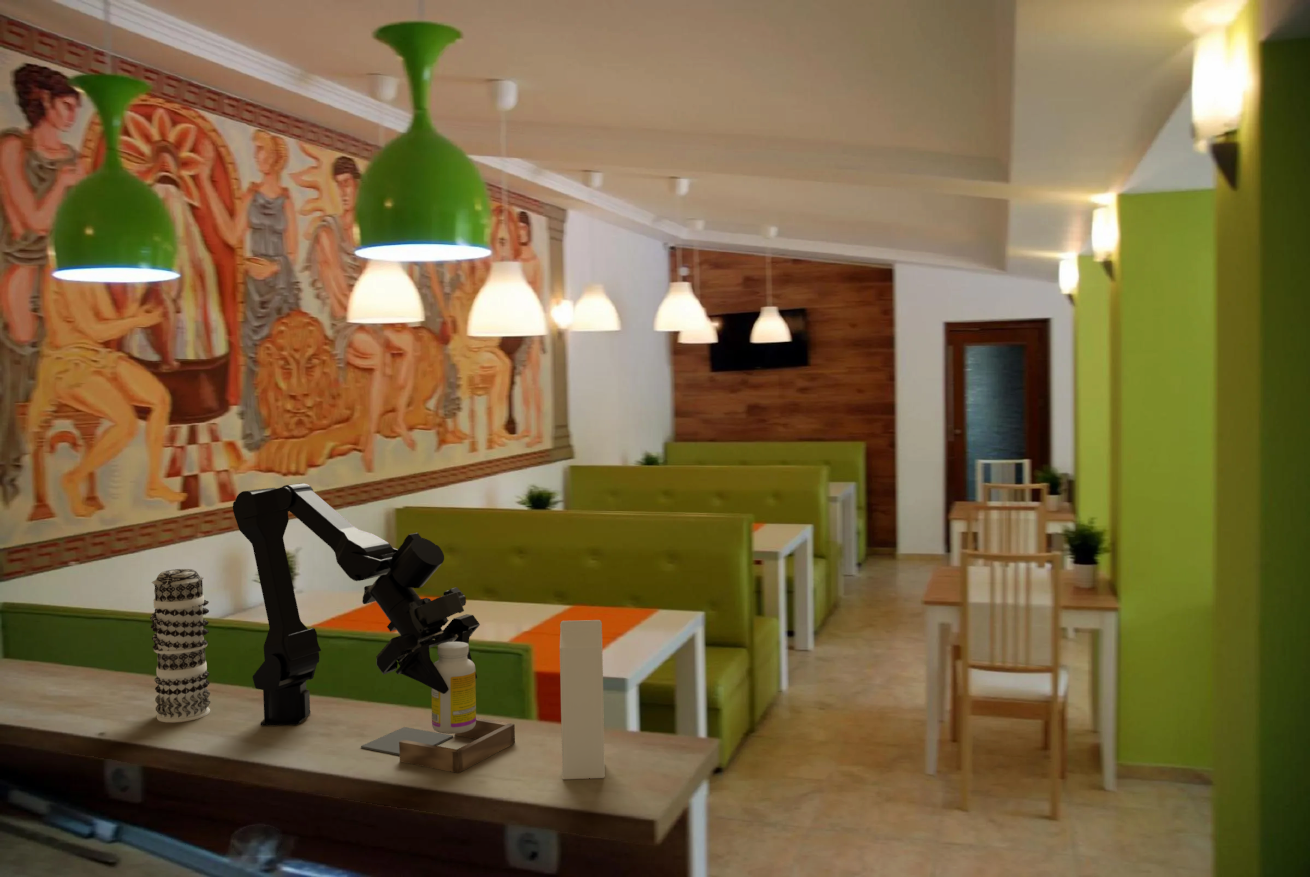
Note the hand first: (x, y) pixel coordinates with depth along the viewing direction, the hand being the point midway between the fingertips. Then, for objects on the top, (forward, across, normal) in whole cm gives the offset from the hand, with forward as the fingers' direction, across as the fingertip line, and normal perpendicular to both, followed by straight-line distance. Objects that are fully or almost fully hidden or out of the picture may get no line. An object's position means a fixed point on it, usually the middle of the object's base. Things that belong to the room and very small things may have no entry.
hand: (460, 685), depth 159 cm
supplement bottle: (+4, 0, +6) cm, 7 cm away
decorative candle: (-32, -5, +48) cm, 57 cm away
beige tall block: (+22, +2, -8) cm, 23 cm away
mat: (0, 0, +15) cm, 15 cm away
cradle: (+7, 0, +8) cm, 10 cm away
